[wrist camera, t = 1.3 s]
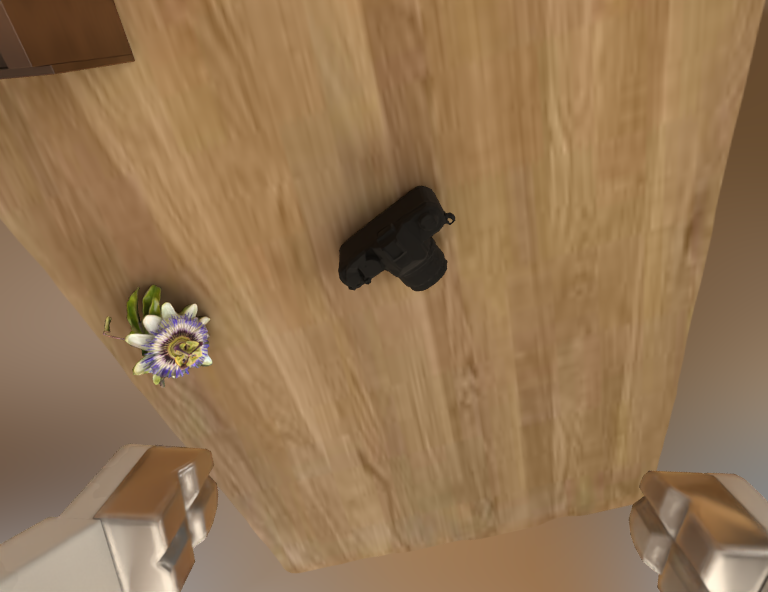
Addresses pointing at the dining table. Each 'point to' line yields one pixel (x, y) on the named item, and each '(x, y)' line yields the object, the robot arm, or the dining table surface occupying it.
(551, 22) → the dining table surface
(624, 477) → the dining table surface
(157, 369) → the passion flower
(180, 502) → the robot arm
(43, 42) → the shelf
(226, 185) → the dining table surface
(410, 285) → the film camera
